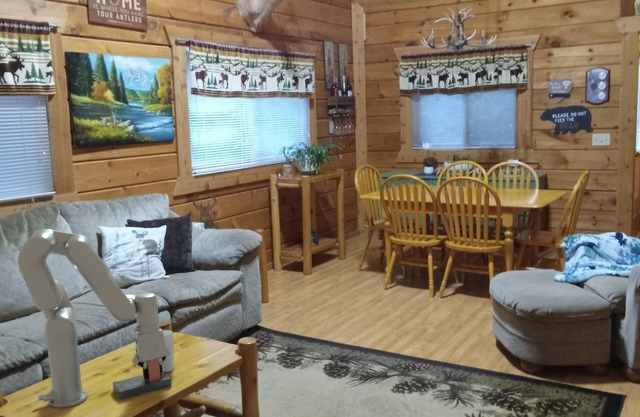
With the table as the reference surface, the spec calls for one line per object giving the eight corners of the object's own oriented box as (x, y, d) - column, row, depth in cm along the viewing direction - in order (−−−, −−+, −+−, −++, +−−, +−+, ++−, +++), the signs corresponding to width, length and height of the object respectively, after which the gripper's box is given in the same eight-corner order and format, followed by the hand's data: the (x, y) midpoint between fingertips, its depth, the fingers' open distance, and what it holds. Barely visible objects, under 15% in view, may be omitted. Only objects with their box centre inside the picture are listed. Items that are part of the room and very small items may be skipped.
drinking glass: (171, 373, 237) (168, 336, 235) (154, 373, 238) (151, 335, 236) (178, 367, 244) (175, 330, 242) (162, 366, 245) (159, 329, 243)
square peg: (150, 384, 224) (147, 361, 223) (146, 381, 228) (144, 357, 226) (160, 381, 226) (158, 358, 225) (157, 378, 230) (155, 355, 228)
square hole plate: (121, 400, 216) (120, 391, 215) (113, 390, 224) (112, 382, 224) (171, 386, 226) (170, 378, 225) (162, 377, 234) (161, 370, 234)
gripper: (128, 335, 217) (133, 385, 219) (174, 325, 226) (178, 373, 228) (122, 330, 223) (127, 379, 225) (167, 320, 232) (171, 367, 234)
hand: (153, 375), depth 227 cm, fingers closed on square peg, 4 cm apart
